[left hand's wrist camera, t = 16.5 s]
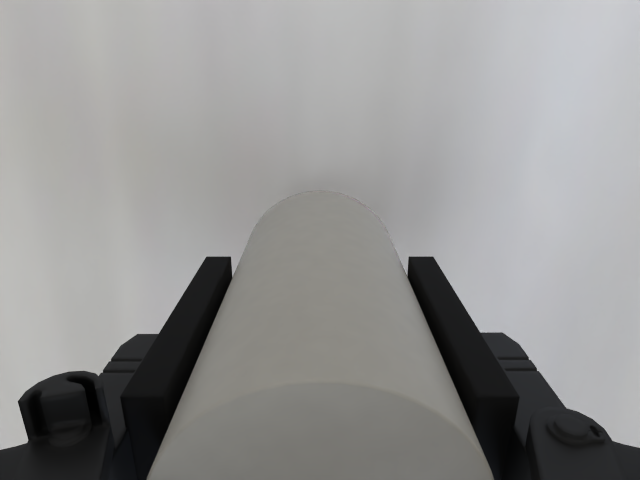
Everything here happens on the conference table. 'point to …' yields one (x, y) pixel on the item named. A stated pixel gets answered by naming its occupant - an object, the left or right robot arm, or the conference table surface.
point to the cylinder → (320, 364)
